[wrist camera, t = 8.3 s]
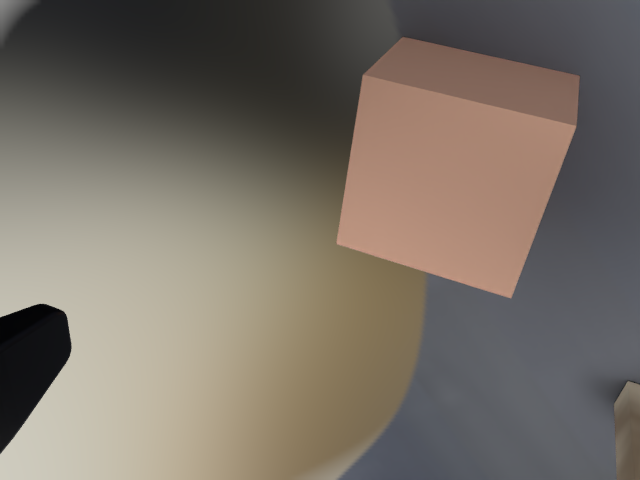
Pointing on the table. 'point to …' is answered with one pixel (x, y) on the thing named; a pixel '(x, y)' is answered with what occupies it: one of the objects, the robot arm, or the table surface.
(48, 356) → the robot arm
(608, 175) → the table surface
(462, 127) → the terracotta block
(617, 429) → the open wooden frame
